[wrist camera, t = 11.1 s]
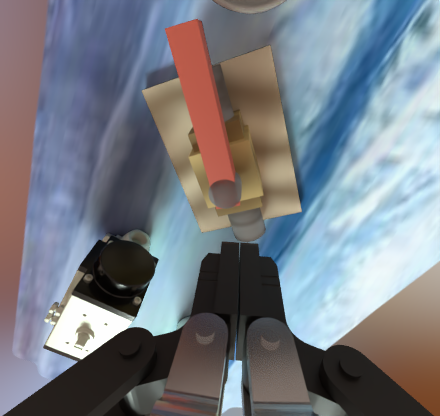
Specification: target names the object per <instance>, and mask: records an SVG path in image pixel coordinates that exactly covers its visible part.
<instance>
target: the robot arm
mask: <svg viewBox="0 0 440 416" xmlns="http://www.w3.org/2000/svg"><path fill="white" fill-rule="evenodd" d="M236 330H237V333H236ZM235 341H236V360H240V361H242V381H241V393H242V408H243V416H433V415H432V414H431V413H430V412H429V411H428V410H427V409H425V408H424V407H423V406H422V405H421V404H420V403H419V402H417V401H416V400H415V399H414V398H413V397H412V396H410V395H409V394H408V393H407V392H406V391H405V390H404V389H402V388H401V387H400V386H399V385H398V384H397V383H396V382H394V381H393V380H392V379H391V378H390V377H389V376H388V375H386V374H385V373H384V372H383V371H382V370H381V369H379V368H378V367H377V366H376V365H375V364H374V363H372V362H371V361H370V360H369V359H368V358H367V357H366V356H365V355H363V354H362V353H361V352H359V351H358V350H356V349H354V348H351V347H349V346H344V345H335V346H332V347H330V348H328V349H327V350H326V351H324V350H322V349H319V348H316V347H314V346H311V345H309V344H307V343H304V342H303V341H301V340H300V339H298V338H297V337H296V336H295V335H294V334H293V333H292V332H291V330H290V329H289V327H288V325H287V323H286V318H285V312H284V306H283V299H282V293H281V287H280V281H279V275H278V268H277V265H276V264H275V263H274V261H273V260H272V258H271V257H261V256H259V247H258V244H253V243H241V244H240V256H239V243H236V242H222V245H221V254H215V253H208V254H207V255H206V257H205V258H204V259H203V260H202V262H201V267H200V273H199V277H198V282H197V288H196V293H195V298H194V303H193V308H192V312H191V316H189V317H186V318H183V319H182V320H180V322H179V323H178V325H177V329H176V331H173V332H170V333H166V334H162V335H158V336H153V335H152V334H151V332H149V331H148V330H146V329H144V328H140V327H133V328H128V329H125V330H123V331H121V332H119V333H118V334H116V335H115V336H114V337H112V338H111V339H109V340H108V341H107V342H105V343H104V344H102V345H101V346H100V347H98V348H97V349H95V350H94V351H93V352H91V353H90V354H88V355H87V356H86V357H84V358H83V359H81V360H80V361H79V362H77V363H76V364H74V365H73V366H72V367H70V368H69V369H67V370H66V371H65V372H63V373H62V374H60V375H59V376H58V377H56V378H55V379H53V380H52V381H51V382H49V383H48V384H47V385H45V386H44V387H42V388H41V389H39V390H38V391H37V392H35V393H34V394H32V395H31V396H30V397H28V398H27V399H25V400H24V401H23V402H21V403H20V404H18V405H17V406H16V407H14V408H13V409H11V410H10V411H9V412H7V413H6V414H4V415H3V416H221V414H222V406H223V398H224V390H225V384H226V381H227V377H228V364H229V360H234V353H235Z"/></svg>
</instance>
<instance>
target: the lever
mask: <svg viewBox="0 0 440 416" xmlns="http://www.w3.org/2000/svg"><path fill="white" fill-rule="evenodd" d="M165 31H166V34H167V38H168V41H169V45H170V48H171V52H172V55H173V59H174V62H175V66H176V69H177V73H178V76H179V80H180V83H181V87H182V90H183V94H184V97H185V101H186V104H187V108H188V111H189V115H190V118H191V122H192V125H193V129H194V132H195V136H196V139H197V143H198V146H199V150H200V153H201V157H202V160H203V164H204V167H205V171H206V174H207V178H208V181H209V185H210V187H209V192H208V195H209V199H210V201H211V202H212V203H213V204H214V205H215V206H216V209H222V208H224V209H227V208H232V207H234V206H240V199H241V193H242V181H241V178H240V176H239V174H238V173H237V172H235V167H234V163H233V158H232V154H231V149H230V145H229V141H228V136H227V132H226V127H225V123H224V118H223V114H222V110H221V105H220V101H219V96H218V92H217V87H216V83H215V79H214V74H213V70H212V65H211V61H210V56H209V52H208V48H207V43H206V39H205V34H204V30H203V25H202V21H200V20H198V19H195V20H192V21H188V22H185V23H182V24H179V25H175V26H172V27H169V28H165Z"/></svg>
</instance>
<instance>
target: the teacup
mask: <svg viewBox="0 0 440 416" xmlns="http://www.w3.org/2000/svg"><path fill="white" fill-rule="evenodd" d="M213 1H214V2H215V3H217V4H219V5H220V6H222V7H224V8H226V9H229V10H232V11H235V12H239V13H245V14H256V13H261V12H265V11H268V10H270V9H273V8H275V7H277V6H279V5H280V4H282V3H283V2H285V1H286V0H213Z"/></svg>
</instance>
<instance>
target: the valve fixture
mask: <svg viewBox="0 0 440 416" xmlns="http://www.w3.org/2000/svg"><path fill="white" fill-rule="evenodd" d="M212 70H213V74H214V79H215V83H216V87H217V92H218V96H219V101H220V105H221V110H222V114H223V118H224V123H225V127H226V132H227V136H228V141H229V145H230V149H231V154H232V158H233V163H234V167H235V172H237V173H238V174H239V176H240V178H241V181H242V193H241V199H240V206H234V207H232V208H227V209H224V208H222V209H216V206H215V205H214V204H213V203H212V202H211V201H210V199H209V195H208V192H209V187H210V185H209V181H208V178H207V174H206V171H205V167H204V164H203V160H202V157H201V153H200V150H199V146H198V143H197V139H196V136H195V132H194V129H193V125H192V122H191V118H190V115H189V111H188V108H187V104H186V101H185V97H184V94H183V90H182V87H181V83H180V80H179V77H178V78H175V79H172V80H169V81H167V82H164V83H161V84H158V85H155V86H152V87H150V88H147V89H144V90H142V93H143V95H144V97H145V100H146V102H147V105H148V107H149V109H150V112H151V114H152V116H153V119H154V121H155V123H156V126H157V128H158V130H159V133H160V135H161V138H162V140H163V142H164V145H165V147H166V149H167V152H168V154H169V156H170V159H171V161H172V163H173V166H174V168H175V171H176V173H177V175H178V178H179V180H180V182H181V185H182V187H183V189H184V192H185V194H186V197H187V199H188V201H189V204H190V206H191V208H192V211H193V213H194V215H195V218H196V220H197V222H198V225H199V227H200V230H201V232H202V233H203V232H208V231H213V230H218V229H222V228H227V227H232V229H233V232H234V235H235V237H236V239H237V240H239V241H242V242H250V241H254V240H256V239H258V238H260V237H261V236H262V235H263V234H264V233H265V230H266V228H265V224H264V221H263V220H265V219H270V218H274V217H279V216H284V215H288V214H293V213H298V212H302V211H301V205H300V200H299V195H298V189H297V184H296V179H295V173H294V168H293V163H292V157H291V152H290V147H289V141H288V136H287V131H286V125H285V120H284V115H283V109H282V104H281V99H280V93H279V88H278V83H277V77H276V72H275V67H274V61H273V56H272V51H271V45H269V46H266V47H263V48H260V49H257V50H254V51H252V52H249V53H246V54H243V55H240V56H237V57H235V58H232V59H229V60H226V61H223V62H220V63H218V64H215V65H212Z"/></svg>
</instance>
